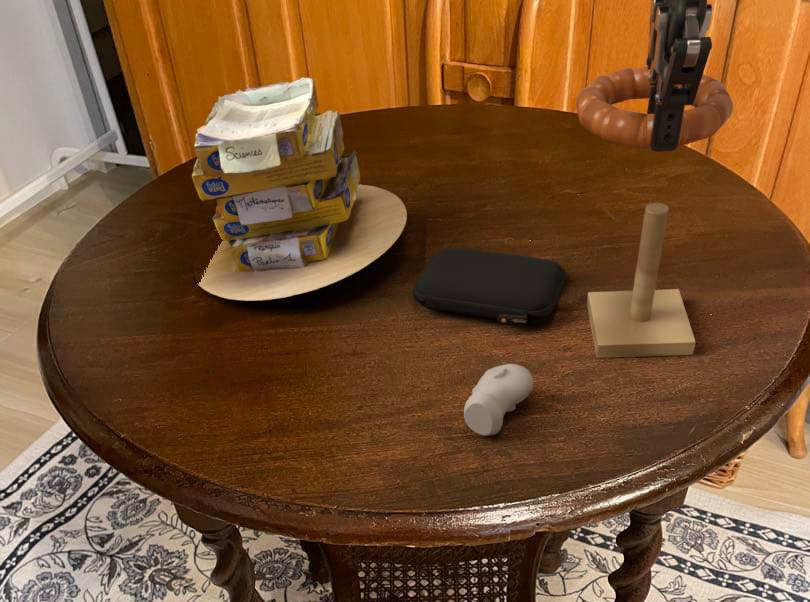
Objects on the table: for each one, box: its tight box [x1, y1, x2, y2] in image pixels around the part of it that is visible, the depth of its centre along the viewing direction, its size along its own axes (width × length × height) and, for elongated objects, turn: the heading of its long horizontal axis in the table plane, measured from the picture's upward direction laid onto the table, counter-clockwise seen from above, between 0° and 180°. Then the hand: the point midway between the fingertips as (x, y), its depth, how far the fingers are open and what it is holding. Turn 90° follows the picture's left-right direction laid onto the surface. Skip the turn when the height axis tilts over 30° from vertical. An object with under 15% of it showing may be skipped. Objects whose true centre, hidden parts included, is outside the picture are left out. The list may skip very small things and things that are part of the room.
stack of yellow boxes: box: [191, 77, 408, 302], centre depth 92 cm, size 25×25×17 cm
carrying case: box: [412, 246, 568, 325], centre depth 88 cm, size 11×3×15 cm
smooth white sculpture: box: [463, 363, 534, 436], centre depth 76 cm, size 4×8×5 cm
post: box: [586, 202, 696, 359], centre depth 80 cm, size 9×9×12 cm
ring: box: [575, 66, 734, 149], centre depth 76 cm, size 13×13×3 cm
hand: (660, 140), depth 73 cm, fingers closed on ring, 2 cm apart
